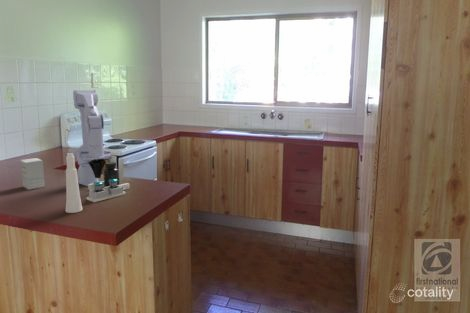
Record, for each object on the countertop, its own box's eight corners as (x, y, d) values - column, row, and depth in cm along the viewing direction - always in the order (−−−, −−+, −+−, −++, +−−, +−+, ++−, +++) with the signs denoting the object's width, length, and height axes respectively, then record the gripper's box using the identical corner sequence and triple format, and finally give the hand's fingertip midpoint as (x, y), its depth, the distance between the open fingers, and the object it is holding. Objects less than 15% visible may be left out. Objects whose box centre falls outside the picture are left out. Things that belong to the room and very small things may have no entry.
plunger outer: (92, 191, 155) (91, 182, 155) (100, 189, 158) (99, 181, 157) (97, 193, 153) (96, 184, 152) (104, 191, 156) (104, 182, 155)
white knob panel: (71, 193, 163) (70, 185, 162) (113, 183, 179) (113, 176, 178) (94, 202, 151) (93, 194, 151) (137, 191, 167) (136, 183, 167)
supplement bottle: (121, 186, 174) (120, 161, 172) (117, 190, 168) (116, 164, 165) (106, 186, 174) (105, 161, 172) (102, 190, 167) (100, 164, 165)
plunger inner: (107, 187, 161) (106, 179, 160) (114, 186, 163) (114, 178, 163) (112, 189, 158) (111, 181, 158) (119, 187, 161) (119, 179, 160)
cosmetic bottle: (77, 206, 146) (73, 151, 142) (85, 210, 142) (82, 153, 138) (62, 210, 141) (57, 153, 137) (70, 214, 138) (66, 155, 133)
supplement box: (39, 183, 177) (37, 157, 175) (45, 186, 172) (42, 160, 169) (22, 186, 172) (19, 159, 170) (27, 190, 167) (24, 162, 164)
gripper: (84, 148, 144) (86, 182, 146) (117, 144, 155) (118, 176, 157) (74, 146, 148) (77, 179, 151) (107, 142, 159) (109, 173, 162)
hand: (97, 177), depth 154 cm, fingers closed
